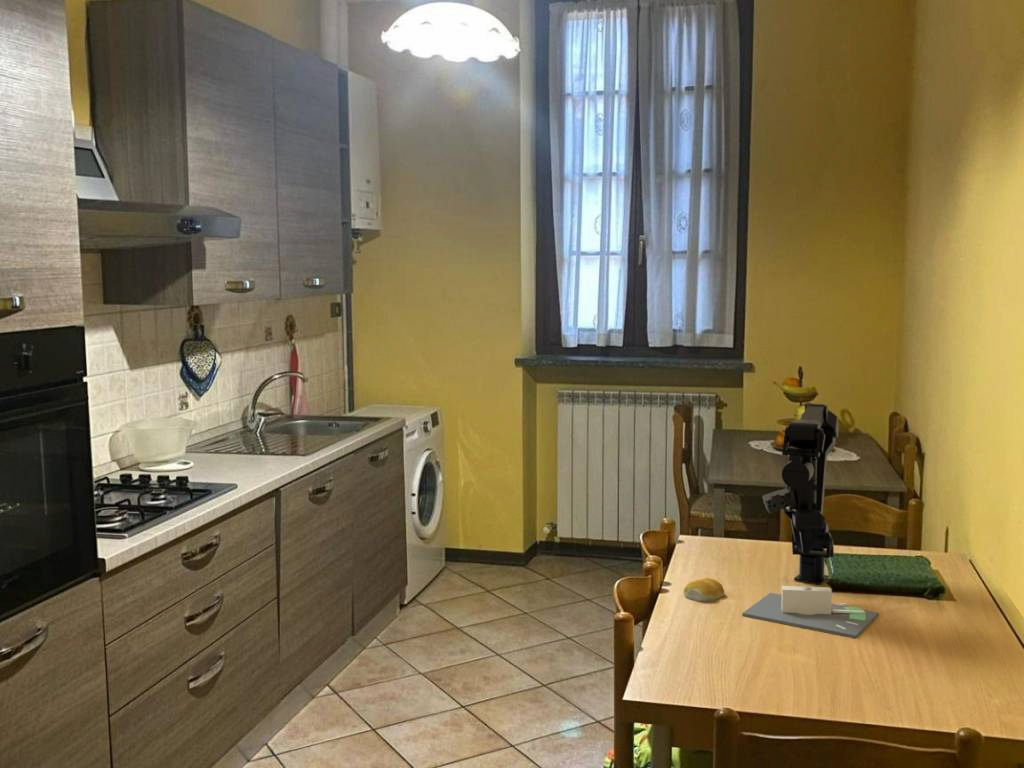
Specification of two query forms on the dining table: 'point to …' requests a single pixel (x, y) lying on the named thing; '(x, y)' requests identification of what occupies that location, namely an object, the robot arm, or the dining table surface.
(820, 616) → the grey board
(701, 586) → the bread roll
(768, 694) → the dining table surface
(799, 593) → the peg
